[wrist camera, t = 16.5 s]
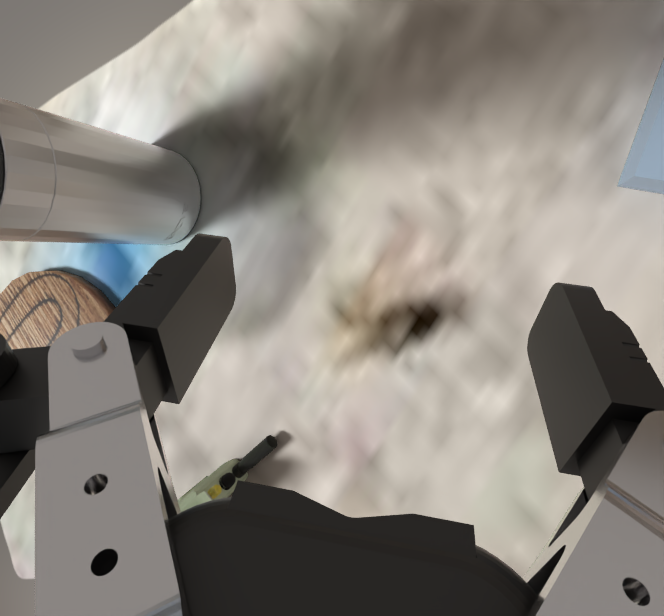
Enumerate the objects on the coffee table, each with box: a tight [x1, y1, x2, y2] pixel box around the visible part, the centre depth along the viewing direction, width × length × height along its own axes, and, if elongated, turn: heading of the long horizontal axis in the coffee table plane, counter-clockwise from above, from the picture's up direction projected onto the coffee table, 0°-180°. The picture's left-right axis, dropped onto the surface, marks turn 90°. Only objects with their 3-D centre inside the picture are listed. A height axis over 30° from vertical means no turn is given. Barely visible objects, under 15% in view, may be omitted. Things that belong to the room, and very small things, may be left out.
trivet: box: [0, 271, 116, 349], centre depth 50 cm, size 25×25×2 cm
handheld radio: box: [178, 435, 277, 512], centre depth 42 cm, size 7×3×25 cm
